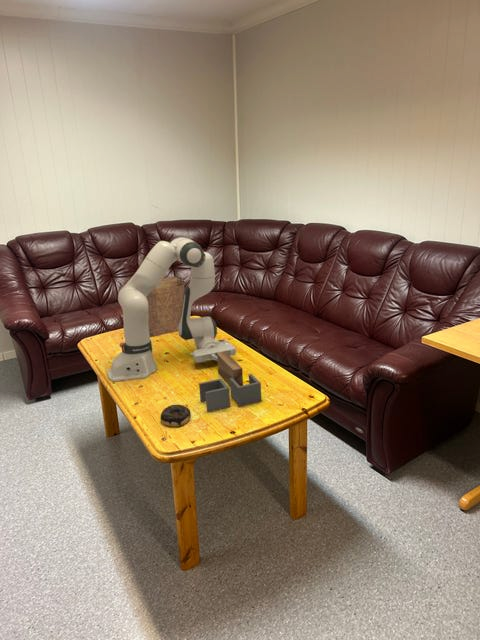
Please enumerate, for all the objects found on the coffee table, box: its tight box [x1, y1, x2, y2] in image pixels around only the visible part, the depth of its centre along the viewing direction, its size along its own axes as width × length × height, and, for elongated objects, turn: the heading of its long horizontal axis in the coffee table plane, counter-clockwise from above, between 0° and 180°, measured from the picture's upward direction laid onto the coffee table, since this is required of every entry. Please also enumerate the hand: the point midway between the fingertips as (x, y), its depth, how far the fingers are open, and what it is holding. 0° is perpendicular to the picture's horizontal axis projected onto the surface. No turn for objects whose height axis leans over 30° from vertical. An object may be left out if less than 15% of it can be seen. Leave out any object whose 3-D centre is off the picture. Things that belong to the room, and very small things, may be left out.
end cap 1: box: [198, 378, 231, 413], centre depth 177 cm, size 9×9×8 cm
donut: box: [160, 404, 192, 427], centre depth 168 cm, size 11×12×4 cm
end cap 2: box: [229, 373, 262, 407], centre depth 179 cm, size 9×9×8 cm
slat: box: [217, 352, 244, 387], centre depth 195 cm, size 4×20×10 cm, turn 22°
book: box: [146, 275, 185, 338], centre depth 257 cm, size 25×9×30 cm, turn 120°
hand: (219, 359), depth 206 cm, fingers closed
